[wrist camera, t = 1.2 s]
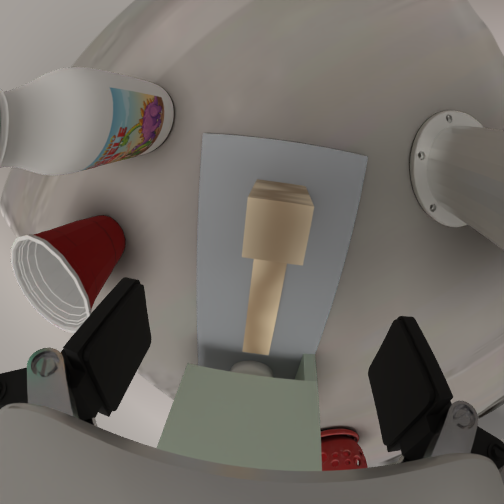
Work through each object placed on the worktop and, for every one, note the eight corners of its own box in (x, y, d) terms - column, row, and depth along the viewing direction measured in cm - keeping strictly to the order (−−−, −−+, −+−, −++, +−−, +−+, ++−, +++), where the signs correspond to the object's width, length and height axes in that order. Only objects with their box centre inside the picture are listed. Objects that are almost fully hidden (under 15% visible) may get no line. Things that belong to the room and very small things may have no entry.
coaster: (276, 363, 34) (276, 374, 32) (269, 389, 36) (269, 399, 34) (231, 357, 34) (228, 368, 32) (229, 383, 36) (226, 393, 35)
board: (364, 155, 23) (368, 156, 22) (295, 399, 38) (295, 404, 37) (205, 133, 24) (202, 133, 23) (201, 386, 39) (199, 390, 38)
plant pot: (292, 448, 47) (290, 494, 36) (311, 422, 41) (311, 478, 31) (347, 449, 47) (350, 492, 36) (373, 422, 41) (381, 473, 30)
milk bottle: (100, 121, 24) (-65, 153, 6) (146, 68, 21) (-26, 33, 3) (139, 169, 26) (-28, 249, 8) (191, 117, 23) (8, 117, 5)
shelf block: (314, 349, 33) (322, 474, 17) (297, 392, 37) (296, 496, 22) (199, 333, 34) (155, 451, 18) (200, 378, 38) (170, 478, 22)
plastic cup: (83, 272, 32) (29, 323, 21) (70, 195, 28) (-1, 231, 17) (149, 284, 31) (100, 350, 21) (141, 196, 27) (68, 240, 16)
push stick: (305, 186, 24) (314, 206, 17) (273, 350, 32) (270, 394, 26) (257, 179, 24) (247, 197, 18) (238, 345, 33) (229, 388, 26)
